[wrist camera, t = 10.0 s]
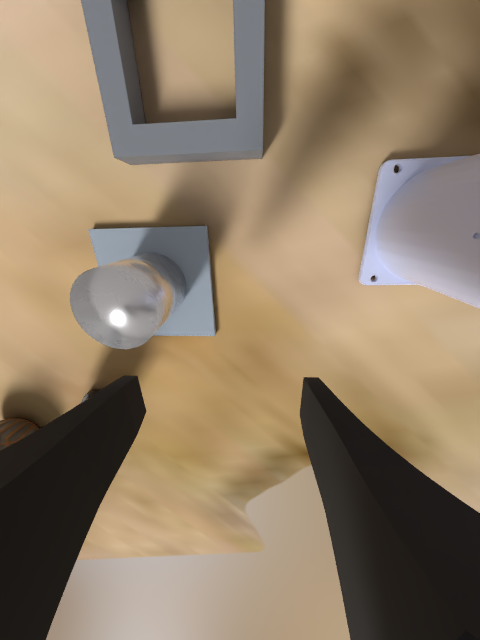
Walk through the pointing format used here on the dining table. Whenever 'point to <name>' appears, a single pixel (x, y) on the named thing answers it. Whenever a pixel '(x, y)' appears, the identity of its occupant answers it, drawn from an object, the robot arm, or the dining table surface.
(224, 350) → the dining table surface
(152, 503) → the dining table surface
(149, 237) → the mat
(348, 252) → the dining table surface
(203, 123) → the frame
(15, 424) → the vase
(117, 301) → the shiny metal cylinder
